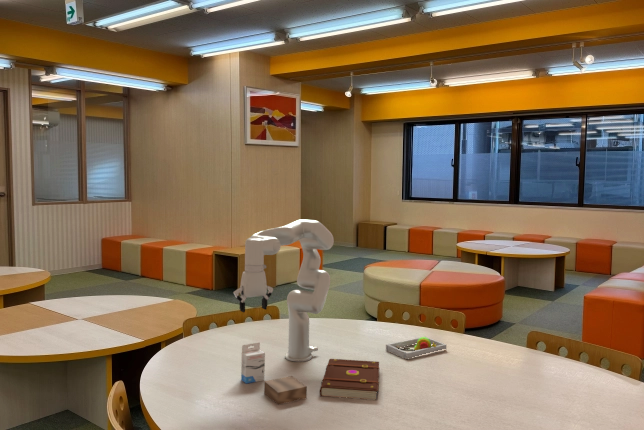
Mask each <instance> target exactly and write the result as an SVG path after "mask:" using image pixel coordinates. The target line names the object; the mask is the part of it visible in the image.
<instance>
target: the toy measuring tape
mask: <svg viewBox="0 0 644 430" xmlns="http://www.w3.org/2000/svg"><path fill="white" fill-rule="evenodd" d="M420 337H421V338H420ZM420 337H418V338H419V339H418V341H417V344H416V345H413V346H414V347H409V348H410V349H409V350H411V349H414V350H420V349H425V348H429V347H436V345H435V343H433V345H432V346H431V342H430V340H429V339H428V338H429V337H428V338H426V337H427V336H420ZM396 348H399V346H396ZM404 348H405V347H403V348H399V349H400V350H405V349H404ZM414 350H413V351H414Z"/></svg>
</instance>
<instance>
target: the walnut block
mask: <svg viewBox="0 0 644 430" xmlns="http://www.w3.org/2000/svg"><path fill="white" fill-rule="evenodd" d="M263 382H264V384H263V385H264V388H263V389H264V390H263V393H264V395H266V396H267V397H268V398H269V399H271V400H272V401H273V402H274V403H276V405H278V406H279V405H284V404H287V403H292V402H298V401H302V400H305V398H306V399H307V396H308V395H307V394H308V391H307V390H308V387H307V385H305V384H304V383H303V382H301V381H300V380H299V379H297V378H296V377H294V376H293V375H288V376H285V377H279V378H274V379H268V380H263Z"/></svg>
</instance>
